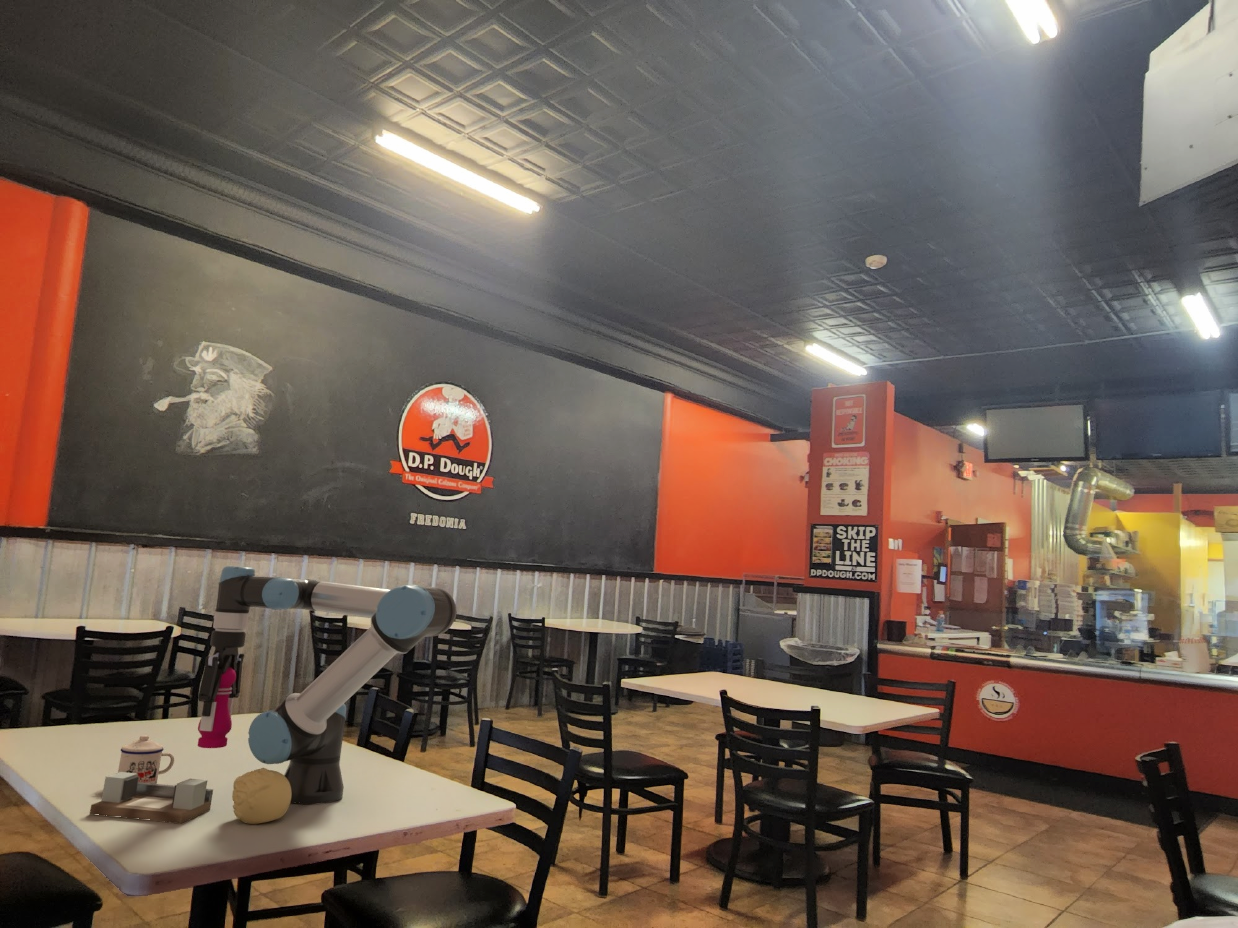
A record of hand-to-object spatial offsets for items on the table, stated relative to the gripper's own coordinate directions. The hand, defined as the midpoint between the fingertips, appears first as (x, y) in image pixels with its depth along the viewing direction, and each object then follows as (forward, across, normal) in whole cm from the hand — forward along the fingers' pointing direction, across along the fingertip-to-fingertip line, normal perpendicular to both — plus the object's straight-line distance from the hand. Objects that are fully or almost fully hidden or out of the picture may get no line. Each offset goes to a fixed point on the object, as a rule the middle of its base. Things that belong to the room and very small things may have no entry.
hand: (214, 727), depth 191 cm
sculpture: (+16, +13, +20) cm, 29 cm away
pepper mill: (+4, 0, 0) cm, 4 cm away
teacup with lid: (+16, -5, -18) cm, 25 cm away
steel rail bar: (+14, +10, -3) cm, 17 cm away
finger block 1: (+14, +15, -11) cm, 23 cm away
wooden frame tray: (+16, +15, -3) cm, 22 cm away
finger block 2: (+14, +15, +4) cm, 21 cm away
